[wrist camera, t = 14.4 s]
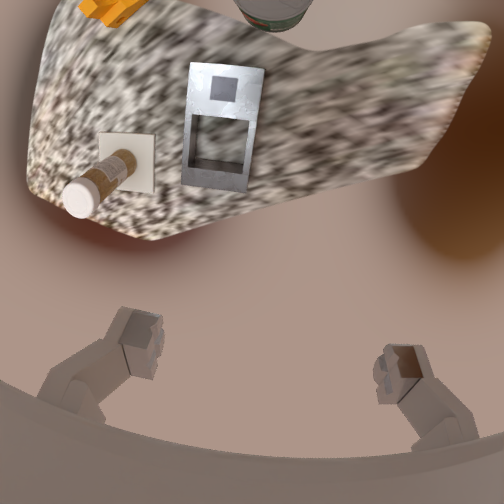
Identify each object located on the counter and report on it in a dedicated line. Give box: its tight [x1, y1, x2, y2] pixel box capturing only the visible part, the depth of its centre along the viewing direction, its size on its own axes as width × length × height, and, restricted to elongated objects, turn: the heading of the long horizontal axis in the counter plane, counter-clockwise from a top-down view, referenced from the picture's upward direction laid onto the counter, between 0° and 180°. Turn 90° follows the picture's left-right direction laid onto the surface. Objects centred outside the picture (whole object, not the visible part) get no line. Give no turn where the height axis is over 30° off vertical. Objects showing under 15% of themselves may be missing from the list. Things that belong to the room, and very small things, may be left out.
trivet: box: [99, 132, 155, 194], centre depth 42 cm, size 9×9×1 cm
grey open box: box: [181, 62, 266, 193], centre depth 37 cm, size 16×9×4 cm, turn 172°
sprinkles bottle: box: [62, 149, 136, 218], centre depth 36 cm, size 5×5×14 cm
